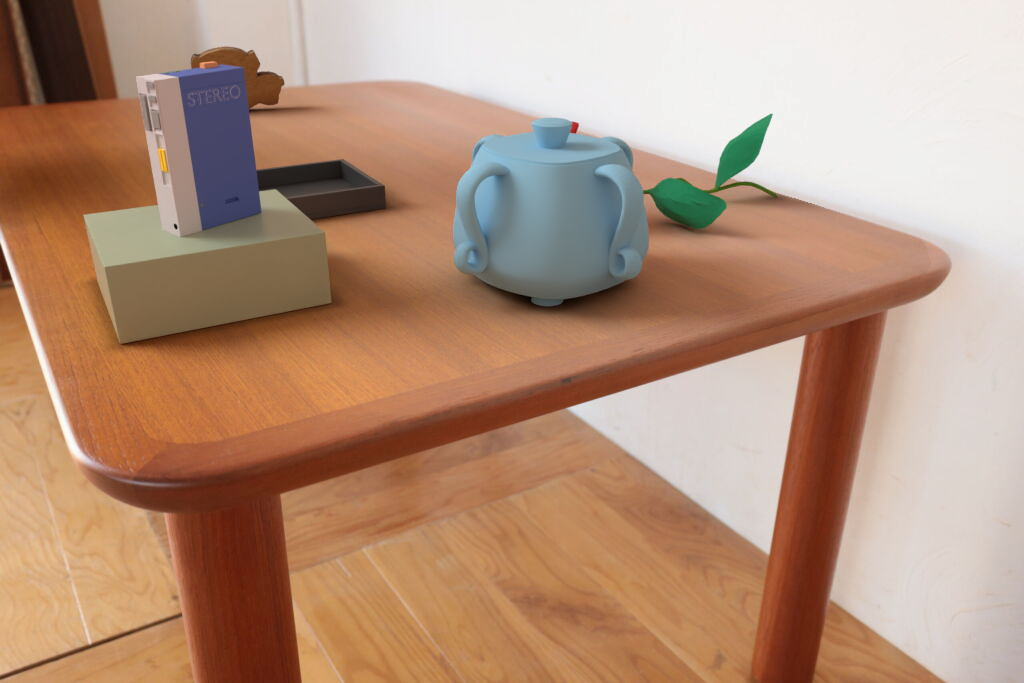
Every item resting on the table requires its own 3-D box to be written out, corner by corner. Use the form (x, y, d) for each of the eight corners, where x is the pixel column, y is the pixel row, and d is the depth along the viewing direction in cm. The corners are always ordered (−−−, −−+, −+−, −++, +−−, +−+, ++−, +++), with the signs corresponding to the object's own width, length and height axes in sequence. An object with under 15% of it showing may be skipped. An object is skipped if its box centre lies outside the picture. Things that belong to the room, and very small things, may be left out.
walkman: (240, 207, 75) (220, 59, 70) (262, 213, 74) (243, 62, 69) (158, 230, 70) (130, 71, 65) (179, 237, 68) (152, 75, 63)
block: (97, 282, 76) (83, 214, 74) (283, 252, 83) (275, 188, 81) (120, 344, 65) (104, 267, 62) (331, 303, 72) (325, 232, 70)
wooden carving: (283, 104, 149) (276, 41, 144) (288, 109, 145) (282, 45, 141) (179, 112, 143) (169, 47, 138) (182, 118, 139) (171, 50, 135)
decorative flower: (833, 230, 89) (849, 132, 85) (547, 252, 83) (549, 148, 79) (765, 191, 102) (777, 104, 97) (512, 208, 95) (512, 116, 91)
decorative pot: (430, 309, 71) (423, 138, 65) (476, 243, 85) (474, 97, 79) (637, 326, 68) (648, 148, 62) (649, 254, 82) (659, 104, 77)
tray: (232, 194, 100) (229, 172, 99) (345, 179, 106) (343, 158, 105) (263, 226, 90) (260, 202, 89) (386, 208, 96) (385, 185, 95)
